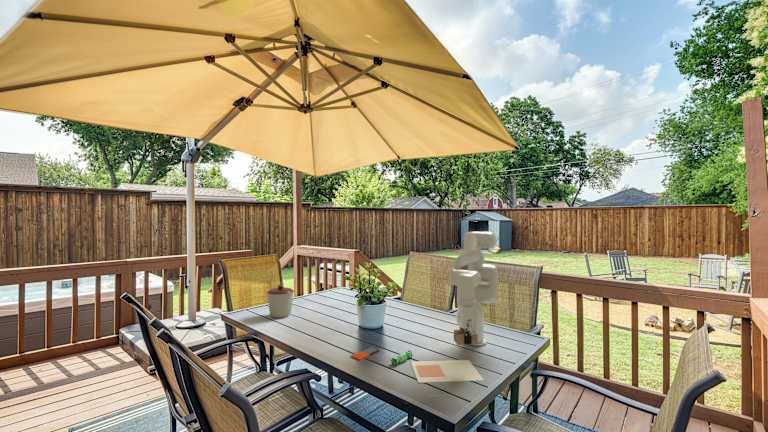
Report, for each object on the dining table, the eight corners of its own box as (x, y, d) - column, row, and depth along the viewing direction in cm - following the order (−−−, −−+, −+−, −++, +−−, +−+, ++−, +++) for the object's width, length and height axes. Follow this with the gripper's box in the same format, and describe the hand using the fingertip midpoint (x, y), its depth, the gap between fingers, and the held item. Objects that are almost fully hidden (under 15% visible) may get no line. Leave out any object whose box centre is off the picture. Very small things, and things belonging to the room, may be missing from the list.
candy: (405, 354, 172) (409, 348, 170) (410, 359, 170) (413, 353, 168) (389, 362, 163) (393, 356, 161) (394, 367, 161) (398, 362, 159)
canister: (273, 311, 246) (273, 281, 245) (298, 312, 243) (298, 282, 243) (261, 319, 228) (261, 287, 227) (287, 320, 225) (287, 288, 225)
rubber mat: (410, 362, 164) (410, 361, 164) (468, 360, 167) (468, 359, 167) (418, 383, 144) (418, 382, 144) (484, 380, 147) (484, 379, 147)
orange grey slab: (349, 355, 170) (370, 346, 181) (349, 358, 170) (370, 349, 181) (359, 359, 165) (379, 349, 177) (359, 361, 165) (379, 352, 177)
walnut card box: (453, 339, 159) (453, 329, 159) (472, 338, 160) (473, 329, 160) (457, 344, 153) (457, 334, 153) (477, 344, 154) (477, 334, 154)
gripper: (452, 296, 164) (451, 334, 165) (463, 307, 147) (463, 349, 148) (467, 295, 165) (467, 333, 165) (480, 306, 148) (480, 348, 148)
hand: (465, 340), depth 156 cm, fingers closed on walnut card box, 6 cm apart
